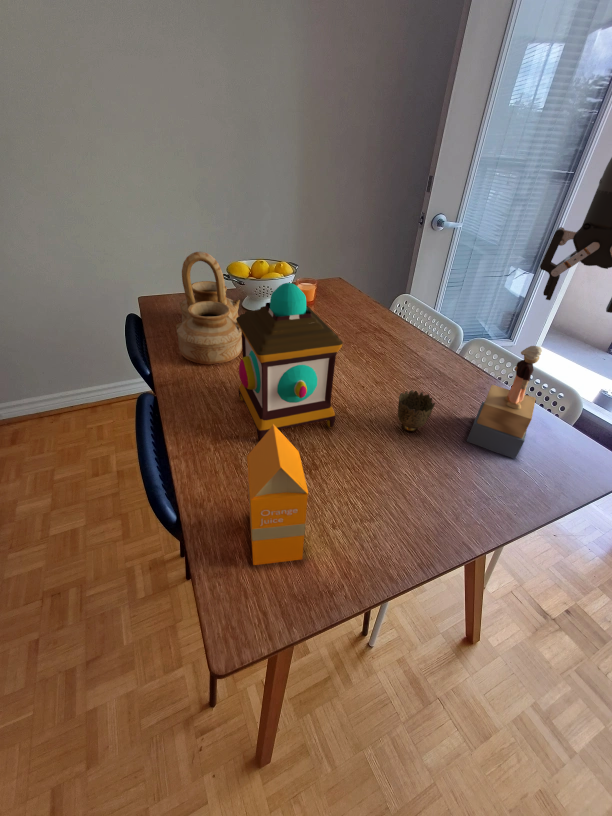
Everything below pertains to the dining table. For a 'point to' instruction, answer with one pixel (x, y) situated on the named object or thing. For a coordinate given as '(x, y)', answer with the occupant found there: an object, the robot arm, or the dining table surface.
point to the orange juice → (276, 500)
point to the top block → (506, 413)
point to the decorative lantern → (287, 363)
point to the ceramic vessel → (208, 317)
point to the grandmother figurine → (522, 376)
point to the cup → (414, 410)
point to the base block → (495, 439)
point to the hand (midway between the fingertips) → (577, 304)
